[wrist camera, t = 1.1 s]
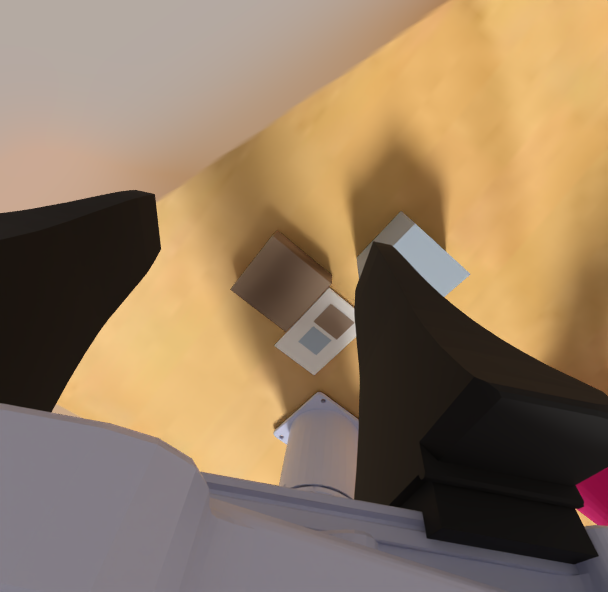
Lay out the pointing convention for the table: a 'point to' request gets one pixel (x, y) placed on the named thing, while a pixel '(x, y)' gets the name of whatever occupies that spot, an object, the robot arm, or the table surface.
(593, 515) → the pepper mill
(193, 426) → the table surface
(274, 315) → the base brick
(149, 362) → the table surface
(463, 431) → the robot arm
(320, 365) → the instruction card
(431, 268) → the gray brick
